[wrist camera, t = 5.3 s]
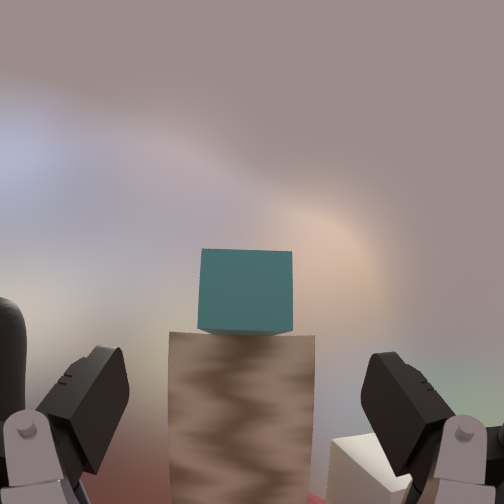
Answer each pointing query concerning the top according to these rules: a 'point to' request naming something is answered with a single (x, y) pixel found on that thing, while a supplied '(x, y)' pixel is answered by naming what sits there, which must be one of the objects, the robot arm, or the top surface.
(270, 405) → the stand
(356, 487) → the white tall block
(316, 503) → the top surface
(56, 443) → the robot arm
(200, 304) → the teal long bar
